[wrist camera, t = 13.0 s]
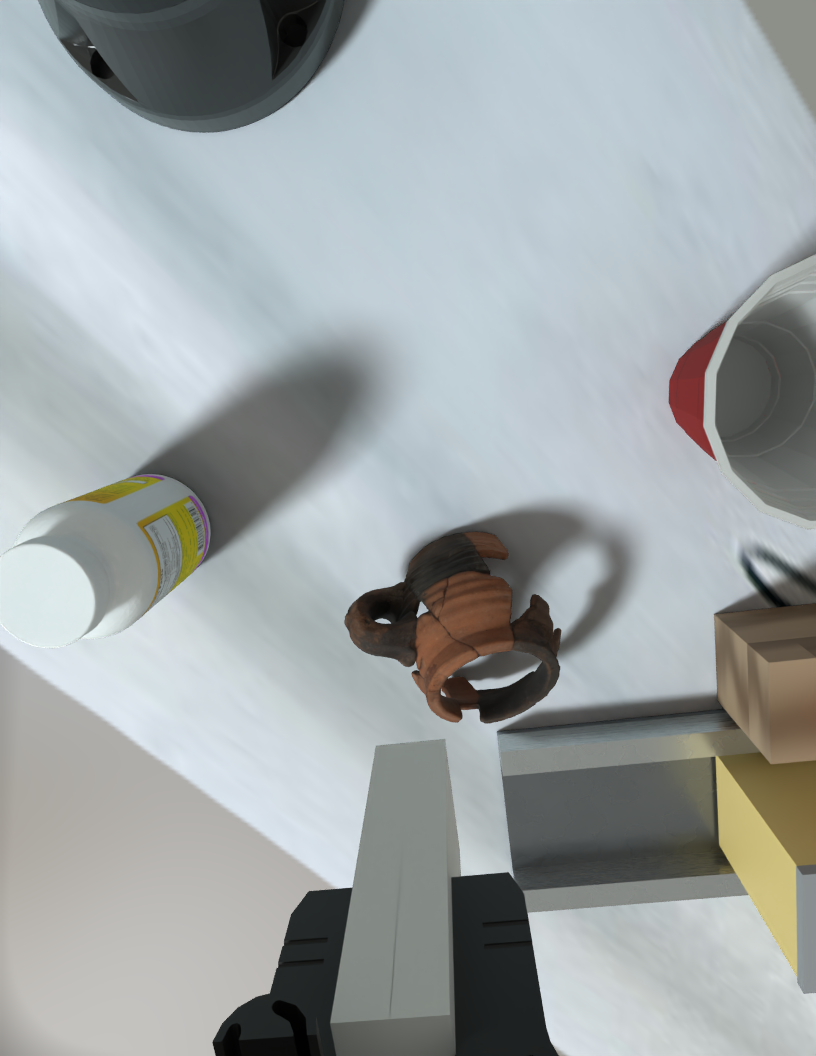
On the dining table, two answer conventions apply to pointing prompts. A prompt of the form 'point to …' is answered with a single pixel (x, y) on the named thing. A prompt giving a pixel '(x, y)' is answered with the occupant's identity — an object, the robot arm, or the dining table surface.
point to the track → (619, 810)
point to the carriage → (774, 848)
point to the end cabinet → (770, 678)
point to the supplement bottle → (101, 560)
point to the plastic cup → (759, 395)
